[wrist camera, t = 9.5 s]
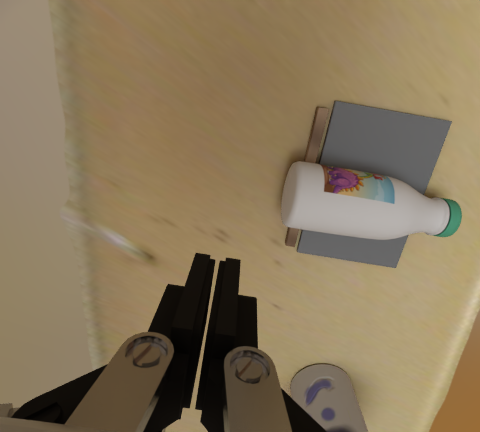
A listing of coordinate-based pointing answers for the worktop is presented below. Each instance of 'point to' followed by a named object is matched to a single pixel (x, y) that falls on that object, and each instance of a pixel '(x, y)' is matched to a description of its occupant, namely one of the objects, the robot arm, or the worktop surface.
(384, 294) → the worktop surface
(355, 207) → the milk bottle
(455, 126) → the worktop surface
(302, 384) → the container
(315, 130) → the rail
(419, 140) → the mat
